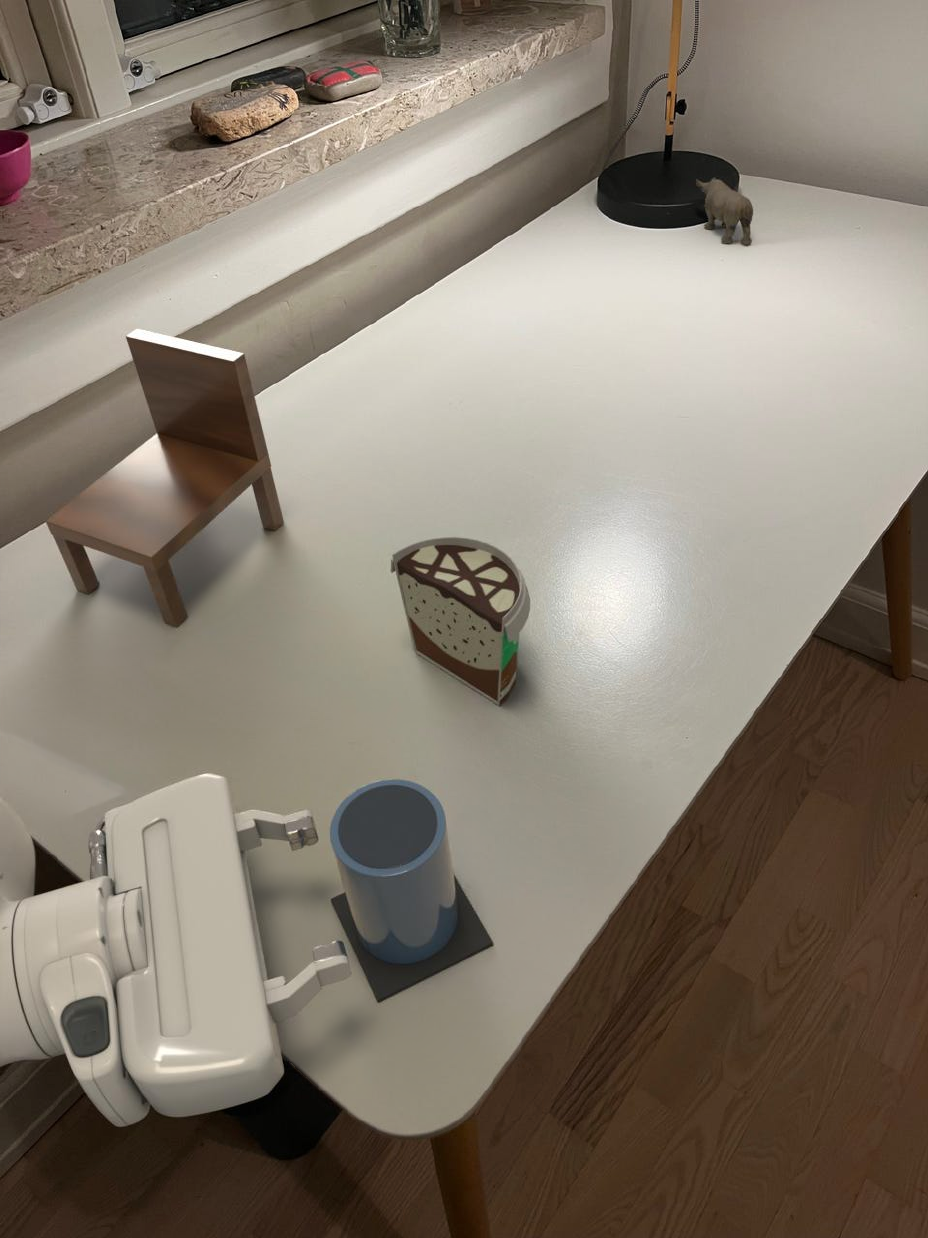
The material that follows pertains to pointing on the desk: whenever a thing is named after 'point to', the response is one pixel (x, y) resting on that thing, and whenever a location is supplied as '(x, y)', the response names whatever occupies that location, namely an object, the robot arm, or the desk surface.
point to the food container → (464, 610)
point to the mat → (401, 976)
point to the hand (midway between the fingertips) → (330, 888)
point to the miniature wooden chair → (173, 467)
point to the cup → (396, 869)
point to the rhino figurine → (727, 209)
